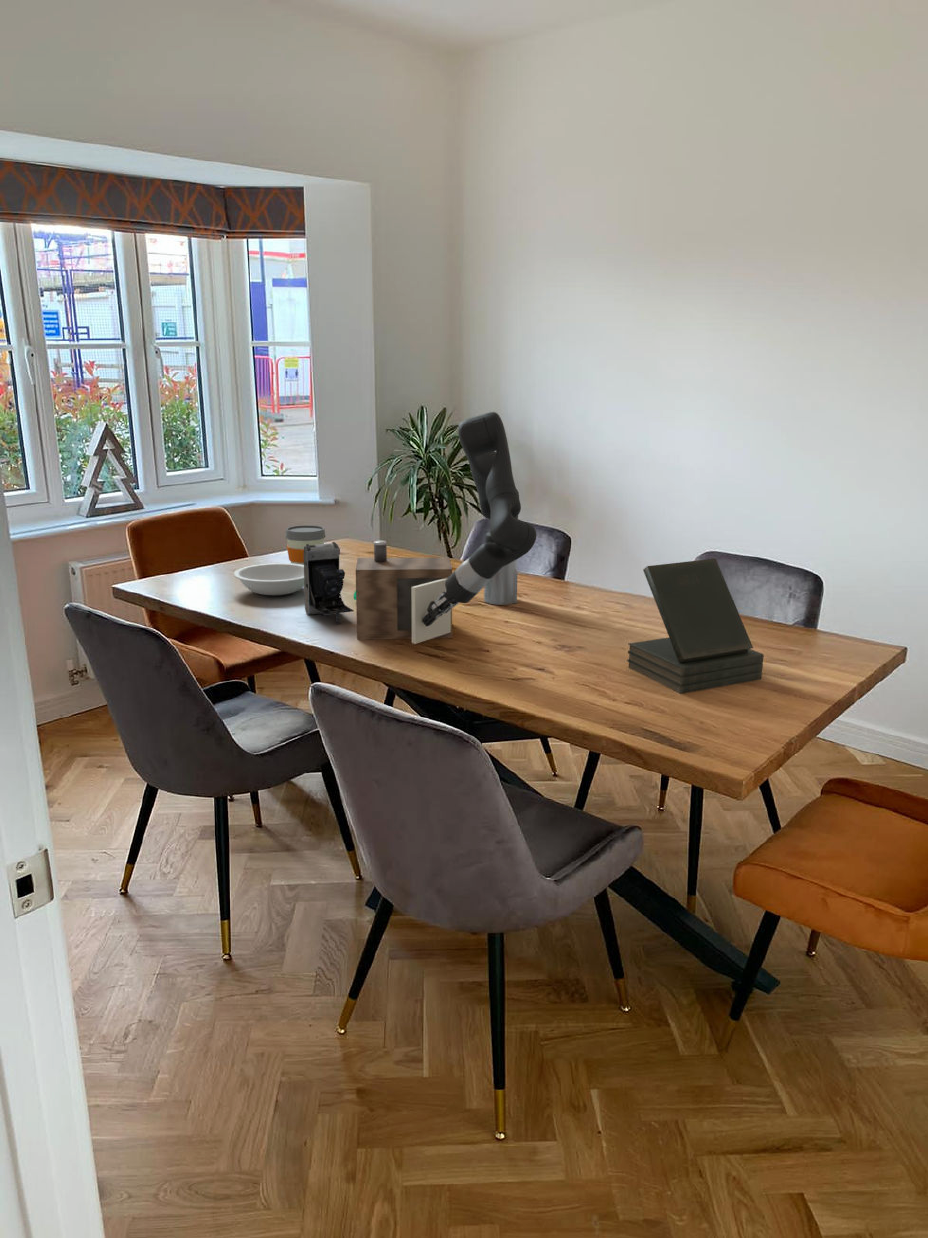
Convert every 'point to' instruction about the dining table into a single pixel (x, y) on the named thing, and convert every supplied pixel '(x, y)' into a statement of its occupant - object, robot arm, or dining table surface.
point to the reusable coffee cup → (302, 540)
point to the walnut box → (392, 594)
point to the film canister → (380, 551)
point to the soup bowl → (272, 578)
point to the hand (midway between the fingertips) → (425, 622)
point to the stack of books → (695, 631)
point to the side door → (419, 610)
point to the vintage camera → (323, 580)
